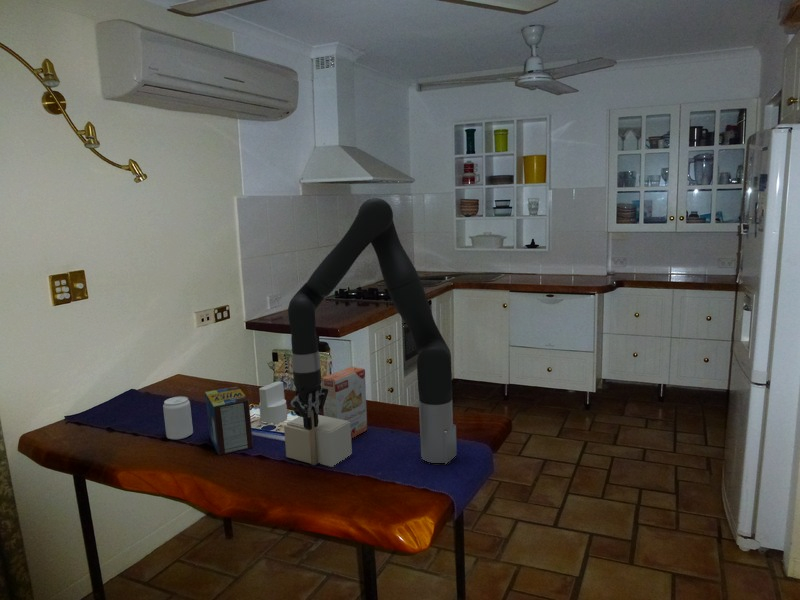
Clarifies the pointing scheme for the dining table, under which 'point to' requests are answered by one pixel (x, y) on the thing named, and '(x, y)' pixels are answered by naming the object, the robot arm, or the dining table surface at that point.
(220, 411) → the protein box
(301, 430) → the flap
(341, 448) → the carton
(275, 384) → the cylinder with rectangular tab
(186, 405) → the beverage can
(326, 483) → the dining table surface
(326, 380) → the cracker box
